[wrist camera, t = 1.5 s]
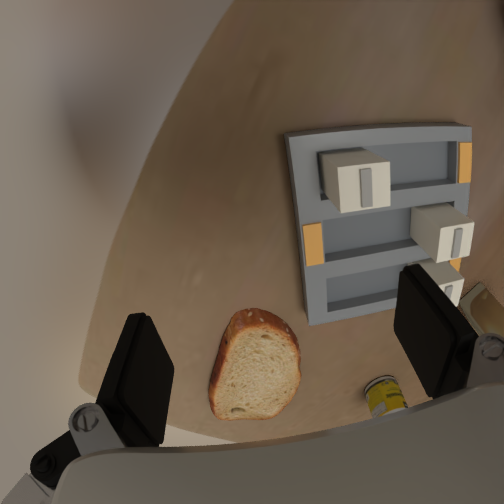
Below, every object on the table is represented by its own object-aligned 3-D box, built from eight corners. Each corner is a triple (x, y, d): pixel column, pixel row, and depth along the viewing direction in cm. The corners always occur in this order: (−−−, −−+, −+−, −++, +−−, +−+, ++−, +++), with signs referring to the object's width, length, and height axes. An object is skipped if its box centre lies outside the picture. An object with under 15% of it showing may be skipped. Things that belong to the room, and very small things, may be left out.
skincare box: (488, 303, 37) (532, 357, 26) (468, 322, 38) (508, 379, 27) (479, 279, 34) (530, 337, 24) (457, 300, 36) (504, 362, 25)
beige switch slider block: (318, 152, 25) (338, 168, 20) (362, 147, 25) (391, 162, 20) (322, 190, 27) (341, 214, 22) (364, 184, 27) (392, 207, 22)
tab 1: (411, 204, 28) (442, 229, 23) (443, 200, 28) (476, 223, 22) (409, 235, 29) (437, 264, 24) (440, 230, 29) (470, 257, 24)
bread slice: (259, 294, 34) (261, 317, 31) (338, 372, 41) (344, 393, 38) (151, 363, 39) (146, 384, 35) (239, 420, 46) (240, 439, 42)
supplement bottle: (402, 378, 43) (423, 427, 34) (379, 398, 45) (396, 446, 36) (380, 371, 41) (401, 425, 32) (356, 393, 43) (373, 445, 35)
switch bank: (283, 133, 26) (289, 137, 23) (455, 122, 25) (473, 127, 22) (304, 310, 35) (309, 327, 32) (443, 280, 34) (455, 293, 31)
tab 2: (407, 258, 31) (434, 288, 25) (438, 251, 30) (466, 280, 25) (405, 284, 32) (428, 316, 27) (434, 277, 32) (459, 307, 27)
